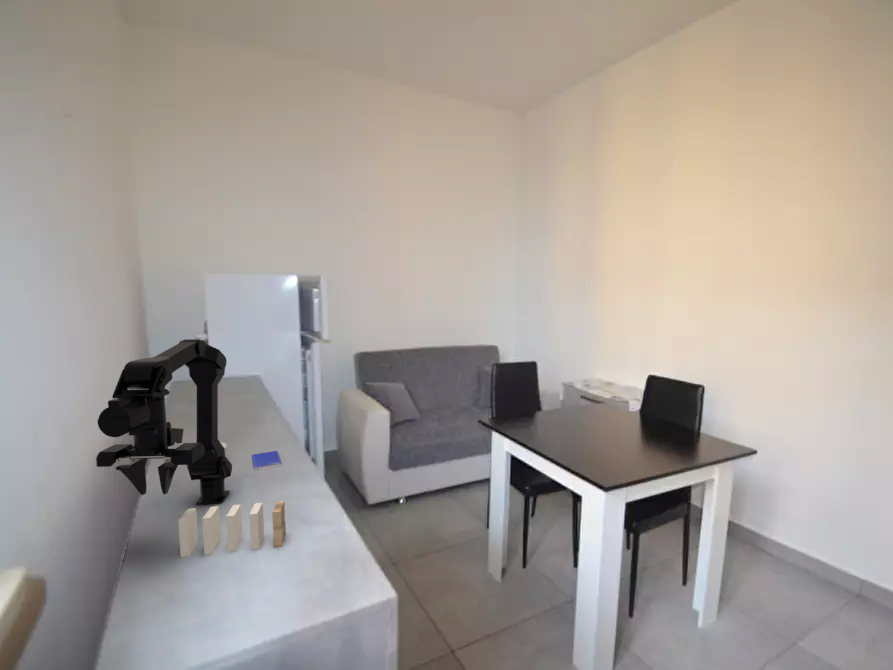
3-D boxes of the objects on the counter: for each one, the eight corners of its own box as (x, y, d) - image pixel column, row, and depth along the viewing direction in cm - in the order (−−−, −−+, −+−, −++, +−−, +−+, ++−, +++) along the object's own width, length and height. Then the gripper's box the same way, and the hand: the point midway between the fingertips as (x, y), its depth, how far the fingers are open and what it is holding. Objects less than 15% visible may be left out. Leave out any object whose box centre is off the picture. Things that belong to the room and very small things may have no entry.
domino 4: (256, 537, 98) (255, 503, 97) (264, 536, 98) (262, 502, 97) (250, 549, 93) (249, 514, 92) (258, 549, 93) (257, 513, 93)
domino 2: (212, 541, 96) (210, 506, 95) (220, 540, 97) (218, 506, 96) (204, 554, 91) (202, 518, 91) (212, 553, 92) (210, 517, 91)
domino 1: (190, 543, 95) (188, 508, 95) (198, 542, 96) (196, 508, 95) (180, 557, 91) (178, 520, 90) (189, 556, 91) (186, 519, 90)
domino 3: (234, 539, 97) (233, 504, 96) (242, 538, 97) (240, 504, 97) (227, 552, 92) (226, 516, 91) (236, 551, 92) (234, 515, 92)
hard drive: (282, 462, 138) (277, 450, 149) (254, 467, 134) (251, 454, 145) (282, 467, 138) (277, 454, 149) (254, 472, 135) (251, 459, 146)
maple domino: (278, 534, 99) (277, 501, 98) (285, 534, 99) (284, 500, 98) (273, 547, 94) (272, 512, 93) (281, 546, 94) (280, 511, 93)
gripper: (214, 409, 98) (218, 476, 99) (128, 411, 97) (133, 478, 98) (188, 424, 87) (193, 499, 88) (91, 426, 86) (97, 502, 87)
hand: (154, 493), depth 91 cm, fingers open, 4 cm apart
